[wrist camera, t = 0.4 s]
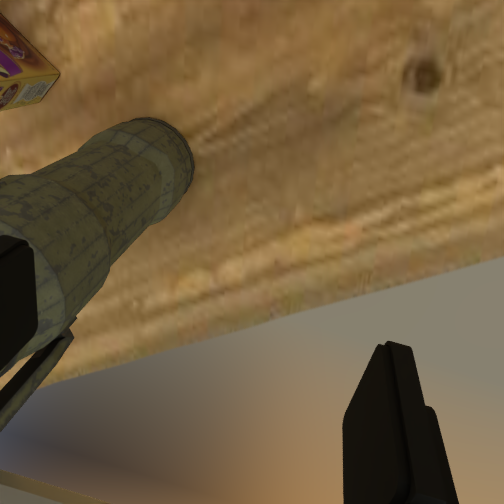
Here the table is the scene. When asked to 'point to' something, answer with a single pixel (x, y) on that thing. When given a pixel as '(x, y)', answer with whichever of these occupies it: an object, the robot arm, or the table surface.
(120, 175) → the thermos
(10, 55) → the candy box
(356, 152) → the table surface
